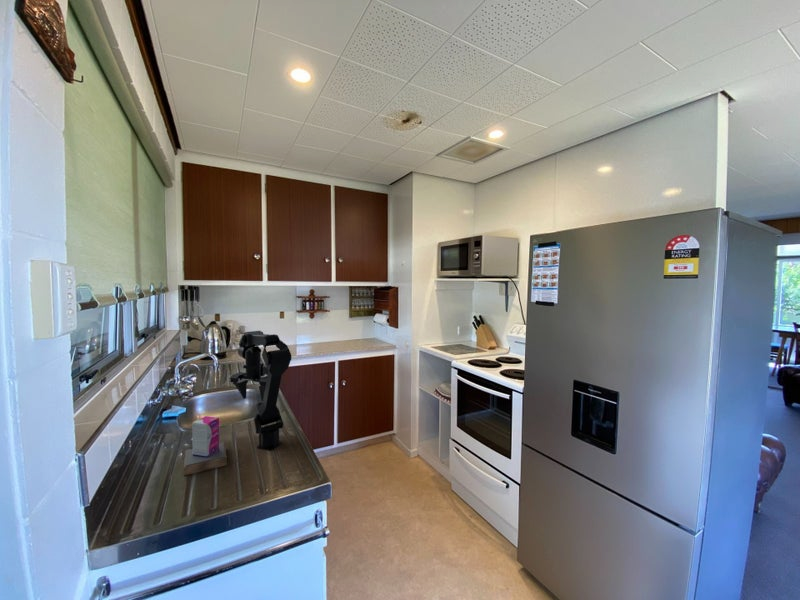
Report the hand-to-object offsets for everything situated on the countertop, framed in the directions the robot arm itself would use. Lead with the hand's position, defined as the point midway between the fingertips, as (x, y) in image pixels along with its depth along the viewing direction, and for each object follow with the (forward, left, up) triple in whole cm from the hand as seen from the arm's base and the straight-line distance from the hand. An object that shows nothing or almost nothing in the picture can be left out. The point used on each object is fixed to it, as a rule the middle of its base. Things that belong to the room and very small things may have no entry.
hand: (253, 399), depth 135 cm
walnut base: (-1, +24, -13) cm, 27 cm away
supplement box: (-1, +24, -10) cm, 26 cm away
